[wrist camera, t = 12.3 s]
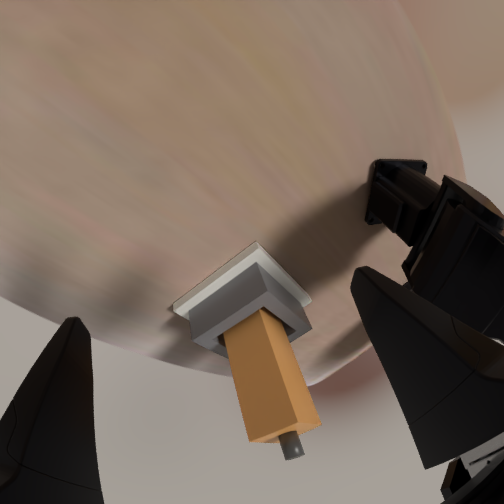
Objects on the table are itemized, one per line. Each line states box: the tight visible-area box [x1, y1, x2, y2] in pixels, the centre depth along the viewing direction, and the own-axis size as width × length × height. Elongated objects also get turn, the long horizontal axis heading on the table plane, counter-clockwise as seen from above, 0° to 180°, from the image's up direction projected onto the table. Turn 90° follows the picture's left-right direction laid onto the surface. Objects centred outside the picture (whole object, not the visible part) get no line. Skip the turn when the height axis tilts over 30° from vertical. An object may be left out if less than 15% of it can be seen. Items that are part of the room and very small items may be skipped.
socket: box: [173, 241, 312, 359], centre depth 26 cm, size 10×10×4 cm
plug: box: [223, 306, 321, 460], centre depth 21 cm, size 4×4×15 cm
